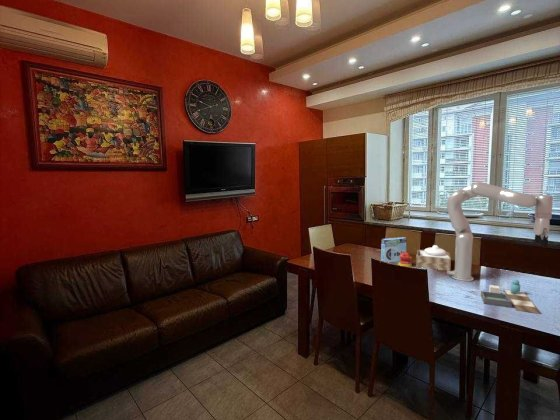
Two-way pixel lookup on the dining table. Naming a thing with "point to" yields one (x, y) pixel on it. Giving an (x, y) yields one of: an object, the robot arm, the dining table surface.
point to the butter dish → (434, 252)
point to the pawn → (515, 287)
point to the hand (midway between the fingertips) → (540, 244)
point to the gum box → (392, 249)
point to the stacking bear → (405, 260)
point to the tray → (496, 299)
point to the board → (522, 302)
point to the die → (494, 289)
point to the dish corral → (433, 262)
